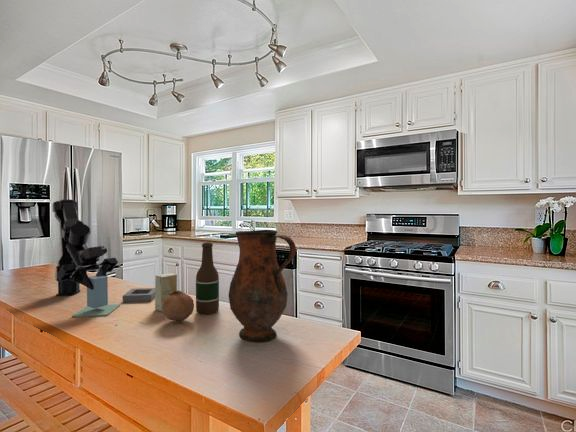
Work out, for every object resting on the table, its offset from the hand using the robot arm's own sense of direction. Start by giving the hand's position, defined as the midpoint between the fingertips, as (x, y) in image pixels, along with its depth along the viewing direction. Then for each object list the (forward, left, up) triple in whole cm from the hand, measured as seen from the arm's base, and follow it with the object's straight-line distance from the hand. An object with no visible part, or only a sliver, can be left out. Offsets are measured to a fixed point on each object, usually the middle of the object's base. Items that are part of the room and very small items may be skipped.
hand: (99, 287), depth 110 cm
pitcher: (+55, -28, -9) cm, 62 cm away
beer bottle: (+37, -4, -9) cm, 38 cm away
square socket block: (+9, +16, -8) cm, 20 cm away
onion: (+29, -13, -9) cm, 33 cm away
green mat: (-1, +1, -8) cm, 9 cm away
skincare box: (+22, +1, -9) cm, 24 cm away
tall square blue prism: (-1, +1, -7) cm, 7 cm away
